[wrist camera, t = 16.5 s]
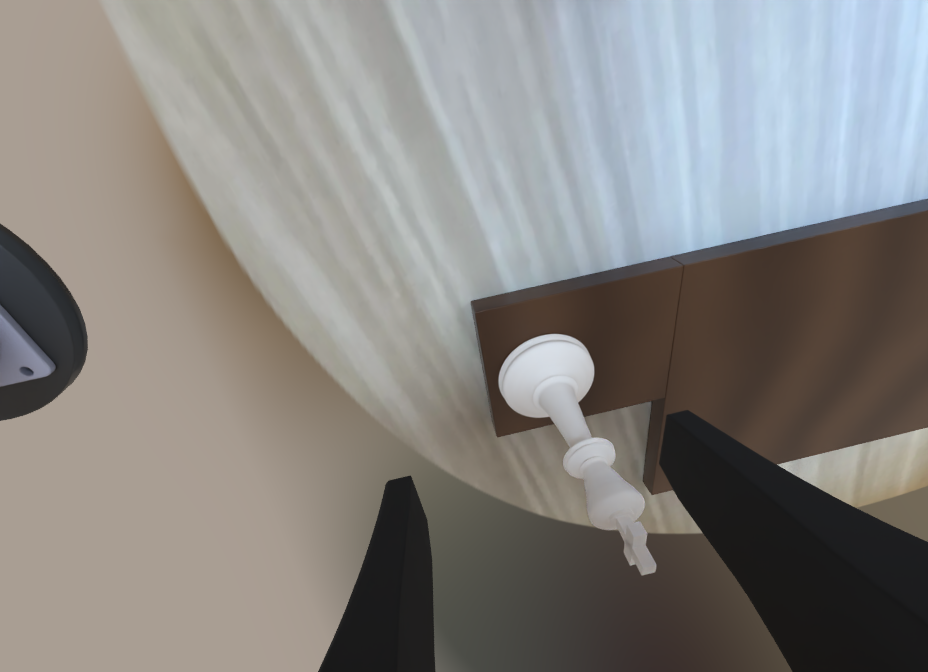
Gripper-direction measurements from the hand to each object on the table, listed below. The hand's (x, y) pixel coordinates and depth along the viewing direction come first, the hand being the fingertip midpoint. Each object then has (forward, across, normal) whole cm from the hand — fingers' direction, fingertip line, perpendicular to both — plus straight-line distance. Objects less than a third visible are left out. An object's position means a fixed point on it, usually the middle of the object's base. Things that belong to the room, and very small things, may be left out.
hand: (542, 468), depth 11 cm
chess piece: (+9, -3, +4) cm, 10 cm away
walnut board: (+10, -16, +8) cm, 20 cm away
